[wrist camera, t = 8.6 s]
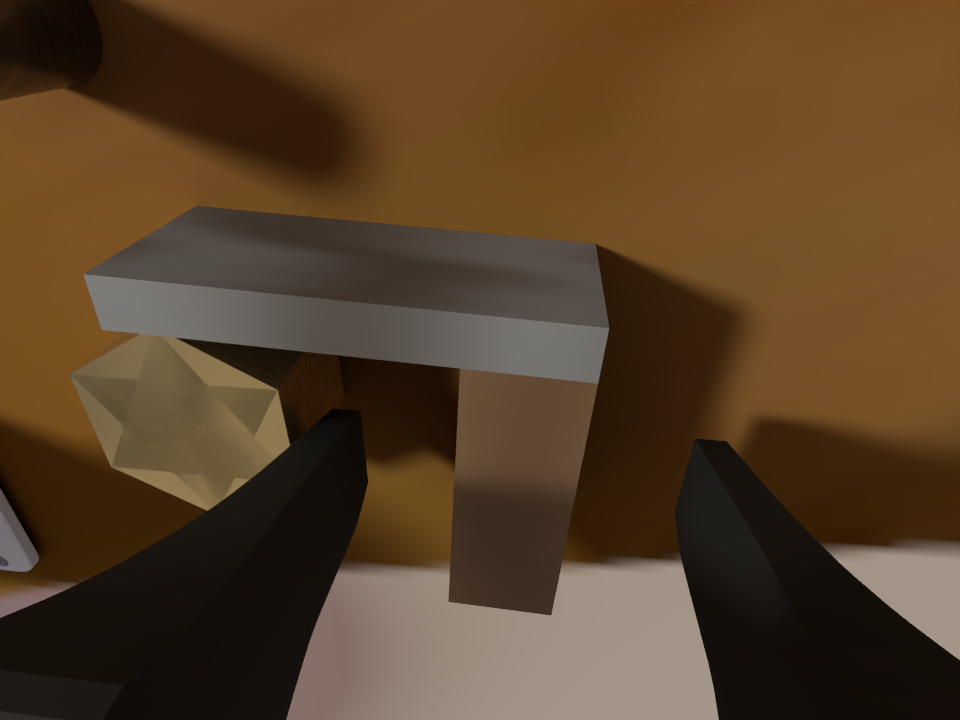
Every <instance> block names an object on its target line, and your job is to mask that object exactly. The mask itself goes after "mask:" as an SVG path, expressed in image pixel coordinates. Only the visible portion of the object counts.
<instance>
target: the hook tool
mask: <svg viewBox="0 0 960 720" xmlns="http://www.w3.org/2000/svg"><path fill="white" fill-rule="evenodd" d="M84 277H85V280H86V283H87V286H88V289H89V292H90V295H91V299H92V302H93V305H94V308H95V311H96V314H97V317H98V320H99V323H100V326H101V329H102V330H110V331H119V332H128V333H137V334H147V335H156V336H165V337H174V338H183V339H193V340H202V341H211V342H220V343H230V344H239V345H248V346H257V347H266V348H276V349H285V350H294V351H303V352H312V353H322V354H331V355H340V356H349V357H358V358H368V359H377V360H386V361H395V362H405V363H414V364H423V365H432V366H441V367H451V368H460V378H459V399H458V419H457V440H456V461H455V481H454V502H453V523H452V543H451V564H450V586H449V602H455V603H462V604H471V605H478V606H485V607H493V608H500V609H508V610H515V611H523V612H532V613H538V614H546V615H551V614H552V608H553V604H554V599H555V594H556V589H557V584H558V579H559V574H560V569H561V564H562V559H563V554H564V549H565V544H566V540H567V535H568V530H569V525H570V520H571V515H572V510H573V505H574V500H575V495H576V490H577V485H578V480H579V475H580V470H581V466H582V461H583V456H584V451H585V446H586V441H587V436H588V431H589V426H590V421H591V416H592V411H593V406H594V401H595V397H596V392H597V387H598V382H599V377H600V372H601V367H602V362H603V357H604V352H605V347H606V342H607V337H608V332H609V323H608V317H607V311H606V305H605V298H604V292H603V286H602V280H601V274H600V267H599V261H598V255H597V249H596V244H592V243H581V242H570V241H560V240H549V239H539V238H528V237H518V236H507V235H496V234H486V233H475V232H465V231H454V230H444V229H433V228H422V227H412V226H401V225H391V224H380V223H370V222H359V221H348V220H338V219H327V218H317V217H306V216H296V215H285V214H275V213H264V212H253V211H243V210H232V209H222V208H211V207H201V206H196V207H194V208H192V209H191V210H189V211H187V212H186V213H184V214H182V215H181V216H179V217H177V218H176V219H174V220H172V221H171V222H169V223H167V224H166V225H164V226H163V227H161V228H159V229H158V230H156V231H154V232H153V233H151V234H149V235H148V236H146V237H144V238H143V239H141V240H139V241H138V242H136V243H134V244H133V245H131V246H129V247H128V248H126V249H124V250H123V251H121V252H119V253H118V254H116V255H114V256H113V257H111V258H109V259H108V260H106V261H105V262H103V263H101V264H100V265H98V266H96V267H95V268H93V269H91V270H90V271H88V272H86V273H85V274H84Z"/></svg>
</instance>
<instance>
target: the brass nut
mask: <svg viewBox="0 0 960 720" xmlns="http://www.w3.org/2000/svg"><path fill="white" fill-rule="evenodd" d="M70 376H71V379H72V381H73V383H74V385H75V387H76V390H77V392H78V394H79V396H80V399H81V401H82V403H83V405H84V408H85V410H86V412H87V414H88V416H89V419H90V421H91V423H92V425H93V428H94V430H95V432H96V434H97V437H98V439H99V441H100V443H101V445H102V448H103V450H104V452H105V454H106V457H107V459H108V461H109V463H110V465H111V467H112V468H115V469H117V470H119V471H121V472H123V473H126V474H128V475H130V476H132V477H134V478H137V479H139V480H141V481H143V482H145V483H148V484H150V485H152V486H154V487H156V488H159V489H161V490H163V491H165V492H167V493H170V494H172V495H174V496H176V497H178V498H181V499H183V500H185V501H187V502H189V503H192V504H194V505H196V506H198V507H200V508H203V509H205V510H207V511H208V510H209V509H211V508H212V507H214V506H215V505H217V504H218V503H219V502H221V501H222V500H224V499H225V498H226V497H228V496H229V495H230V494H232V493H233V492H234V491H235V490H237V489H238V488H239V487H241V486H242V485H243V484H245V483H246V482H247V481H248V480H250V479H251V478H252V477H254V476H255V475H256V474H257V473H259V472H260V471H261V470H262V469H263V468H265V467H266V466H267V465H268V464H269V463H271V462H272V461H273V460H274V459H275V458H276V457H278V456H279V455H280V454H281V453H282V452H283V451H285V450H286V449H287V448H288V447H289V446H290V445H292V444H293V443H294V442H295V441H296V440H297V439H298V438H299V437H301V436H302V435H303V434H304V433H305V432H306V431H307V430H308V429H310V428H311V427H312V426H313V425H314V424H315V423H316V422H317V421H319V420H320V419H321V418H322V417H323V416H324V415H326V414H327V413H328V412H329V411H330V410H331V409H338V407H339V405H340V403H341V401H342V399H343V397H344V389H343V382H342V375H341V368H340V361H339V355H331V354H322V353H312V352H303V351H294V350H285V349H276V348H266V347H257V346H248V345H239V344H230V343H220V342H211V341H202V340H193V339H183V338H174V337H165V336H156V335H147V334H137V333H128V332H122V333H120V334H119V335H118V336H117V337H115V338H114V339H113V340H112V341H110V342H109V343H108V344H107V345H105V346H104V347H103V348H102V349H100V350H99V351H98V352H97V353H95V354H94V355H93V356H92V357H91V358H89V359H88V360H87V361H86V362H84V363H83V364H82V365H81V366H79V367H78V368H77V369H76V370H74V371H73V372H72V373H71V374H70Z"/></svg>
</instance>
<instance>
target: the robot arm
mask: <svg viewBox="0 0 960 720" xmlns="http://www.w3.org/2000/svg"><path fill="white" fill-rule="evenodd" d="M367 485H368V477H367V468H366V459H365V450H364V441H363V432H362V423H361V414H360V411H354V410H342V409H331V410H330V411H329V412H328V413H327V414H326V415H324V416H323V417H322V418H321V419H320V420H319V421H317V422H316V423H315V424H314V425H313V426H312V427H311V428H310V429H308V430H307V431H306V432H305V433H304V434H303V435H302V436H301V437H299V438H298V439H297V440H296V441H295V442H294V443H293V444H292V445H290V446H289V447H288V448H287V449H286V450H285V451H283V452H282V453H281V454H280V455H279V456H278V457H276V458H275V459H274V460H273V461H272V462H271V463H269V464H268V465H267V466H266V467H265V468H263V469H262V470H261V471H260V472H259V473H257V474H256V475H255V476H254V477H252V478H251V479H250V480H248V481H247V482H246V483H245V484H243V485H242V486H241V487H239V488H238V489H237V490H235V491H234V492H233V493H232V494H230V495H229V496H228V497H226V498H225V499H224V500H222V501H221V502H219V503H218V504H217V505H215V506H214V507H212V508H211V509H209V510H208V511H207V512H205V513H204V514H202V515H201V516H199V517H197V518H196V519H194V520H193V521H191V522H190V523H188V524H187V525H185V526H184V527H182V528H181V529H179V530H177V531H176V532H174V533H172V534H171V535H169V536H167V537H166V538H164V539H162V540H160V541H159V542H157V543H155V544H153V545H151V546H150V547H148V548H146V549H144V550H143V551H141V552H139V553H137V554H136V555H134V556H132V557H130V558H129V559H127V560H125V561H123V562H121V563H119V564H118V565H116V566H114V567H112V568H110V569H108V570H106V571H104V572H102V573H100V574H98V575H96V576H94V577H92V578H90V579H88V580H86V581H84V582H82V583H79V584H77V585H75V586H73V587H71V588H69V589H67V590H65V591H63V592H60V593H58V594H56V595H54V596H52V597H49V598H47V599H45V600H43V601H40V602H38V603H36V604H33V605H31V606H28V607H26V608H24V609H21V610H18V611H16V612H14V613H11V614H9V615H6V616H4V617H2V618H0V720H286V718H287V714H288V711H289V708H290V704H291V701H292V697H293V694H294V690H295V687H296V684H297V680H298V677H299V674H300V670H301V667H302V663H303V661H304V657H305V654H306V651H307V648H308V644H309V641H310V638H311V635H312V633H313V630H314V627H315V625H316V622H317V619H318V617H319V614H320V612H321V610H322V607H323V605H324V603H325V600H326V597H327V595H328V593H329V591H330V588H331V586H332V583H333V581H334V579H335V576H336V574H337V571H338V569H339V567H340V564H341V562H342V559H343V557H344V555H345V552H346V550H347V547H348V545H349V542H350V540H351V537H352V535H353V533H354V530H355V527H356V525H357V522H358V518H359V515H360V511H361V507H362V504H363V500H364V496H365V492H366V489H367ZM675 514H676V522H677V531H678V539H679V546H680V553H681V559H682V563H683V567H684V571H685V575H686V579H687V583H688V587H689V591H690V595H691V598H692V602H693V606H694V610H695V613H696V617H697V621H698V625H699V628H700V633H701V636H702V640H703V644H704V648H705V652H706V655H707V659H708V663H709V668H710V672H711V677H712V681H713V686H714V691H715V697H716V704H717V710H718V716H719V720H960V660H959V659H957V658H956V657H954V656H953V655H952V654H950V653H949V652H948V651H946V650H945V649H944V648H942V647H941V646H939V645H938V644H937V643H936V642H934V641H933V640H932V639H930V638H929V637H928V636H926V635H925V634H924V633H922V632H921V631H920V630H918V629H917V628H916V627H914V626H913V625H912V624H910V623H909V622H908V621H907V620H905V619H904V618H903V617H902V616H900V615H899V614H898V613H897V612H895V611H894V610H893V609H892V608H890V607H889V606H888V605H887V604H886V603H885V602H883V601H882V600H881V599H880V598H879V597H877V596H876V595H875V594H874V593H873V592H872V591H871V590H869V589H868V588H867V587H866V586H865V585H863V584H862V583H861V582H860V581H859V580H857V579H856V578H855V577H854V576H853V575H852V574H851V573H850V572H849V571H848V570H847V569H845V568H844V567H843V566H842V565H841V564H840V563H839V562H838V561H837V560H836V559H835V558H834V557H833V556H832V555H831V554H830V553H829V552H828V551H827V550H826V549H824V548H823V547H822V546H821V545H820V544H819V543H818V542H817V541H816V540H815V539H814V538H813V537H812V536H811V535H810V534H809V533H808V532H807V531H806V530H805V529H804V528H803V527H802V526H801V525H800V523H799V522H798V521H797V520H796V519H795V518H794V517H793V516H792V515H791V514H790V513H789V512H788V511H787V510H786V509H785V508H784V506H783V505H782V504H781V503H780V502H779V501H778V500H777V499H776V498H775V497H774V495H773V494H772V493H771V492H770V491H769V490H768V489H767V488H766V486H765V485H764V484H763V483H762V482H761V481H760V480H759V478H758V477H757V476H756V475H755V474H754V473H753V472H752V470H751V469H750V468H749V467H748V466H747V465H746V463H745V462H744V461H743V460H742V459H741V458H740V456H739V455H738V454H737V453H736V452H735V451H734V450H733V448H732V447H731V446H730V445H729V444H728V443H727V442H726V441H715V440H703V439H695V441H694V445H693V449H692V452H691V456H690V459H689V463H688V467H687V470H686V474H685V477H684V481H683V485H682V488H681V492H680V495H679V499H678V502H677V506H676V510H675ZM38 560H39V556H38V553H37V551H36V550H35V548H34V546H33V544H32V543H31V541H30V539H29V537H28V536H27V534H26V532H25V530H24V529H23V527H22V525H21V523H20V522H19V520H18V518H17V516H16V515H15V513H14V511H13V509H12V508H11V506H10V504H9V502H8V501H7V499H6V497H5V495H4V494H3V492H2V490H1V488H0V570H9V571H18V572H26V571H29V570H31V569H32V568H33V567H34V566H35V565H36V563H37V562H38Z"/></svg>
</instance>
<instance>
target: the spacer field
mask: <svg viewBox="0 0 960 720" xmlns="http://www.w3.org/2000/svg"><path fill="white" fill-rule="evenodd" d="M101 51H102V43H101V35H100V31H99V27H98V24H97V21H96V18H95V16H94V13H93V11H92V9H91V7H90V6H89V4H88V2H87V0H0V101H1V100H6V99H11V98H16V97H21V96H26V95H31V94H36V93H41V92H46V91H51V90H56V89H61V88H66V87H71V86H75V85H79V84H82V83H84V82H85V81H87V80H89V79H90V78H91V77H92V76H93V74H94V73H95V71H96V70H97V68H98V65H99V62H100V59H101Z"/></svg>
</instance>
